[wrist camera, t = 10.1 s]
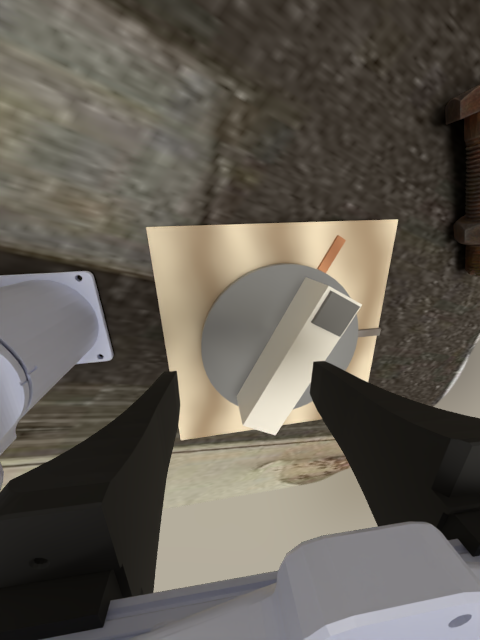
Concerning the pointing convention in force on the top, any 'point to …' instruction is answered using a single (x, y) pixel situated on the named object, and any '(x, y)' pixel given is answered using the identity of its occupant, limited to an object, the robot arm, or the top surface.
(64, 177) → the top surface
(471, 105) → the bolt
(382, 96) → the top surface
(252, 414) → the dial
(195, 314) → the dial board
